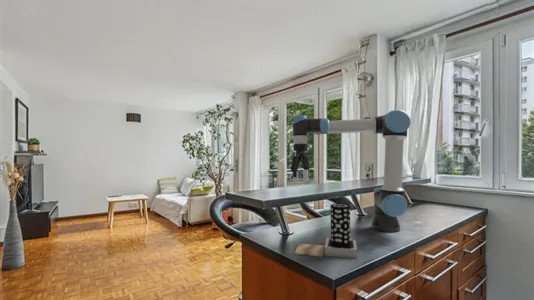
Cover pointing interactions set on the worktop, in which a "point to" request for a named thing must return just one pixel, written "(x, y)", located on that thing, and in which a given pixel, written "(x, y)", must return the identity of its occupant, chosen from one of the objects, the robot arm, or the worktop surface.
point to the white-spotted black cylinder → (340, 226)
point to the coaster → (310, 250)
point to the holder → (341, 250)
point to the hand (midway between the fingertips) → (300, 182)
